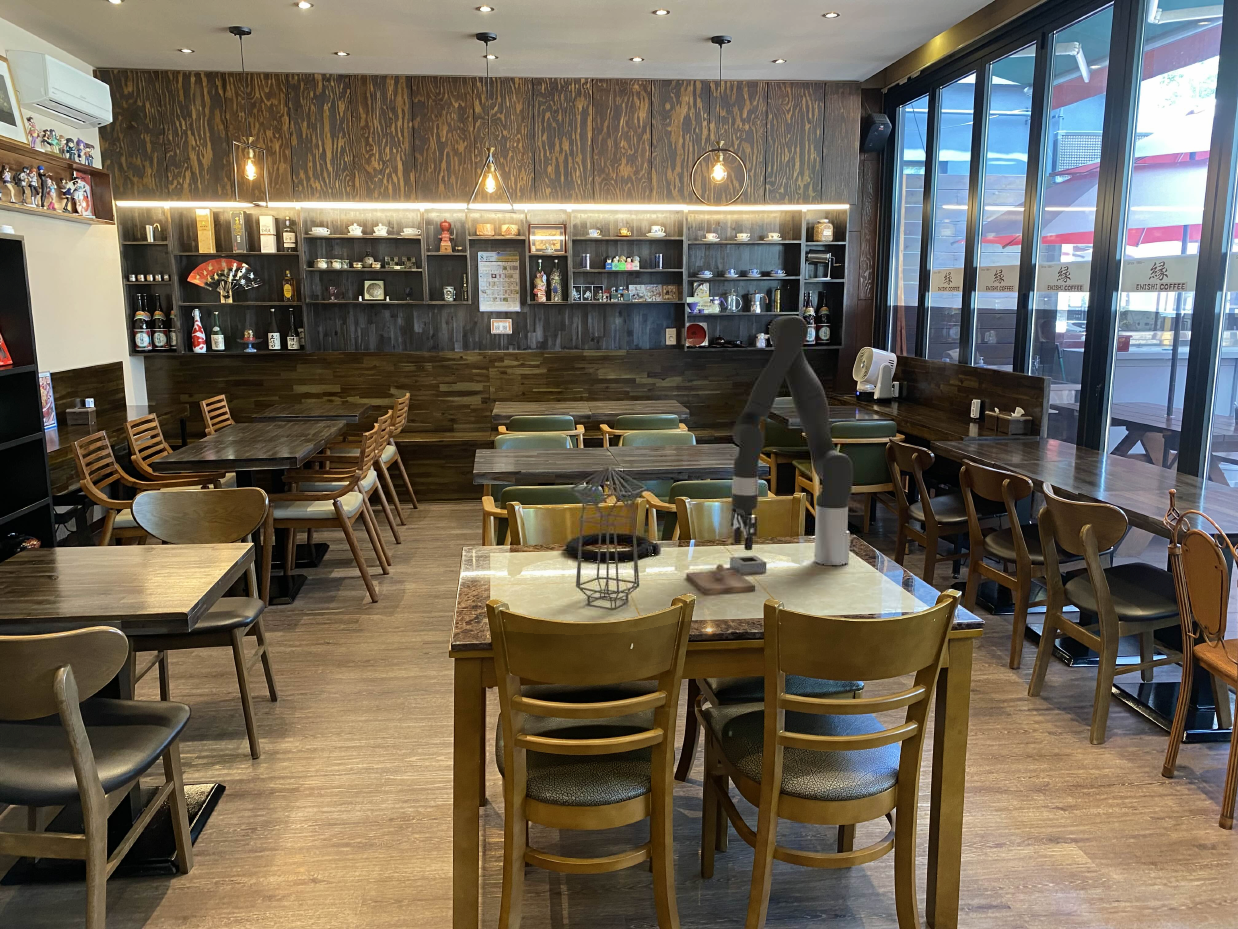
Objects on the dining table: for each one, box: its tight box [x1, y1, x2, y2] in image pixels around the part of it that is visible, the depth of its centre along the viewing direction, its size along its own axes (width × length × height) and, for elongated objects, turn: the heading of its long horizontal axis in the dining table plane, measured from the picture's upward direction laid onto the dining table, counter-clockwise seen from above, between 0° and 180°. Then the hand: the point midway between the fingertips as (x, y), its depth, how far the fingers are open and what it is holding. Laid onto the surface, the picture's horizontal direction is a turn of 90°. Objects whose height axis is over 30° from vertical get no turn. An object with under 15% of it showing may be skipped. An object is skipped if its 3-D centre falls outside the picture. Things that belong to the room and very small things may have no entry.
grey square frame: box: [729, 555, 768, 575], centre depth 257 cm, size 8×8×3 cm
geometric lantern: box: [568, 466, 648, 610], centre depth 224 cm, size 16×16×35 cm
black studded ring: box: [564, 532, 662, 562], centre depth 278 cm, size 28×4×30 cm
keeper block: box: [685, 564, 756, 595], centre depth 242 cm, size 14×16×6 cm
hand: (742, 546), depth 259 cm, fingers open, 8 cm apart
